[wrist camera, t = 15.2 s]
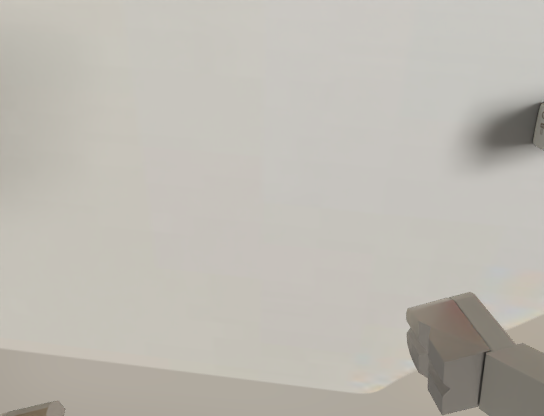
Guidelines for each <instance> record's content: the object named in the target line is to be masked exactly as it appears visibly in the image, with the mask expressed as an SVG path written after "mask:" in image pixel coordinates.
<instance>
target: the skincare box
mask: <svg viewBox="0 0 544 416" xmlns="http://www.w3.org/2000/svg"><path fill="white" fill-rule="evenodd" d="M533 144H534V145H535V146H537V147H539V148H540V149H542V150H544V103H542V104H541V105H540V109H539V113H538V117H537V122H536V127H535V132H534V138H533Z"/></svg>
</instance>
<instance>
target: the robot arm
mask: <svg viewBox="0 0 544 416" xmlns="http://www.w3.org/2000/svg"><path fill="white" fill-rule="evenodd" d="M406 320H407V322H408V324H409V325H410V327H411V328H410V329H409V331H408V332H407V344H408V348H409V352H410V355H411V358H412V360H413V362H414V364H415V366H416V368H417V370H418V372H419V373H420V374H422V375H424V376H425V377H427V378H428V391H429V392H430V394H431V396H432V398H433V400H434V401H435V403H436V405H437V407H438V409H439V411H440V412H441V414H442V415H445V414H449V413H453V412H457V411H461V410H465V409H469V408H474V407H478V406H479V409H481V410H482V411H484V412H485V413H486V414H488V415H489V416H544V353H543V352H540V351H538V350H536V349H534V348H532V347H530V346H528V345H526V344H524V343H522V344H517V345H516V344H515V342H514V341H513V340H512V339H511V338H510V336H509V335H508V334H507V333H506V332H505V330H504V329H503V328H502V327H501V326H500V324H499V323H498V322H497V321H496V320H495V318H494V317H493V316H492V315H491V314H490V312H489V311H488V310H487V309H486V307H485V306H484V305H483V304H482V303H481V301H480V300H479V299H478V298H477V297H476V295H475V294H473V293H471V292H468V293H464V294H460V295H457V296H453V297H449V298H444V299H440V300H437V301H433V302H429V303H426V304H422V305H418V306H415V307H411V308H408V309H407V312H406ZM64 413H65V408H64V407H63V405H62V404H61V403H60V402H59V401H53V402H48V403H44V404H40V405H35V406H31V407H27V408H23V409H19V410H14V411H10V412H6V413H2V414H0V416H64Z"/></svg>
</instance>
